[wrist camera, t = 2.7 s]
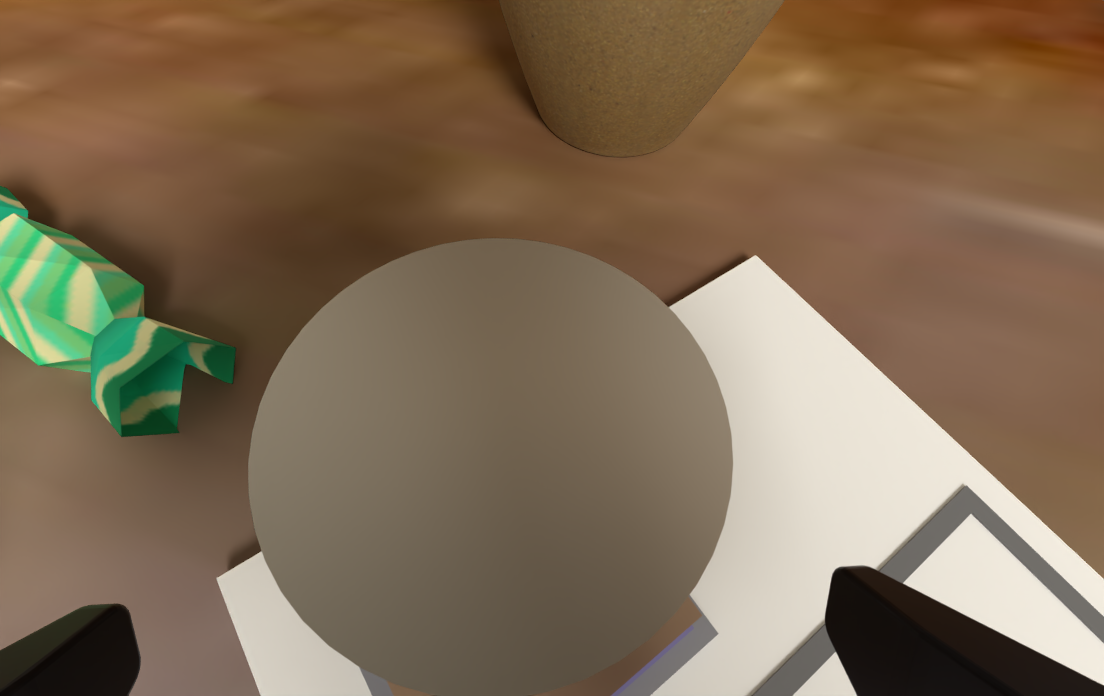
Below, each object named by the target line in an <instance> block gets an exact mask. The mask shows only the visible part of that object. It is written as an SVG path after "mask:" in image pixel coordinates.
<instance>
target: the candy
mask: <svg viewBox="0 0 1104 696" xmlns="http://www.w3.org/2000/svg"><path fill="white" fill-rule="evenodd" d="M0 335H1V336H2V337H3V338H5V339H6V340H7V341H8V342H10V343H11V344H12V345H13V346H15V347H16V348H17V349H18V350H20V351H21V352H22V353H23V354H25V355H26V356H27V357H28V358H30V359H31V360H32V361H34V362H35V363H36V364H37V365H40V366H47V367H54V368H61V369H68V370H75V371H82V372H91V400H92V402H93V403H94V404H95V405H96V406H97V408H98V409H99V410H100V411H101V413H102V414H103V415H104V416H105V417H106V419H107V420H108V421H109V422H110V424H111V425H112V426H113V427H114V428H115V430H116V431H117V432H118V433H119V435H120V436H121V437H128V436H142V435H157V434H171V433H179V431H178V430H177V424H178V415H179V407H180V399H181V390H182V382H183V374H184V368H185V366H186V364H190V365H192V366H194V367H196V368H198V369H200V370H202V371H204V372H206V373H208V374H210V375H212V376H214V377H216V378H218V379H220V380H222V381H224V382H228V383H232V384H233V374H234V364H235V353H236V348H235V347H232V346H229V345H226V344H223V343H221V342H218V341H215V340H212V339H209V338H206V337H203V336H200V335H197V334H194V333H191V332H188V331H185V330H182V329H179V328H176V327H173V326H170V325H167V324H164V323H161V322H158V321H155V320H152V319H149V318H146V317H144V285H143V284H141V283H140V282H138V281H137V280H135V279H134V278H132V277H131V276H130V275H128V274H127V273H125V272H124V271H122V270H121V269H120V268H118V267H117V266H115V265H114V264H112V263H111V262H110V261H108V260H107V259H105V258H104V257H102V256H101V255H100V254H98V253H97V252H95V251H94V250H92V249H91V248H89V247H88V246H87V245H85V244H84V243H82V242H81V241H79V240H78V239H77V238H75V237H74V236H72V235H70V234H67V233H64V232H62V231H59V230H57V229H54V228H51V227H49V226H46V225H43V224H41V223H38V222H36V221H33V220H30V219H28V210H27V209H26V208H25V207H24V206H23V205H22V204H21V203H20V202H19V201H18V200H17V199H16V197H15V196H14V195H13V194H12V193H11V192H10V191H9V190H8V189H7V188H5V187H2V186H0Z"/></svg>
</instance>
